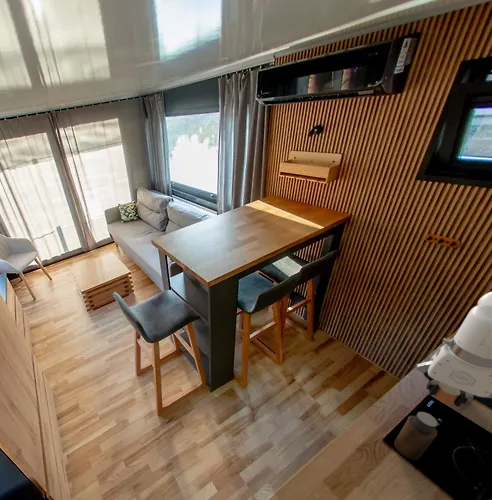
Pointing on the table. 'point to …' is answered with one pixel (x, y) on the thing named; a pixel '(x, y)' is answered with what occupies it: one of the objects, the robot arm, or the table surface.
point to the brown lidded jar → (413, 440)
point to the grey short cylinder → (425, 422)
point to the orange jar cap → (447, 393)
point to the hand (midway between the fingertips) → (443, 396)
